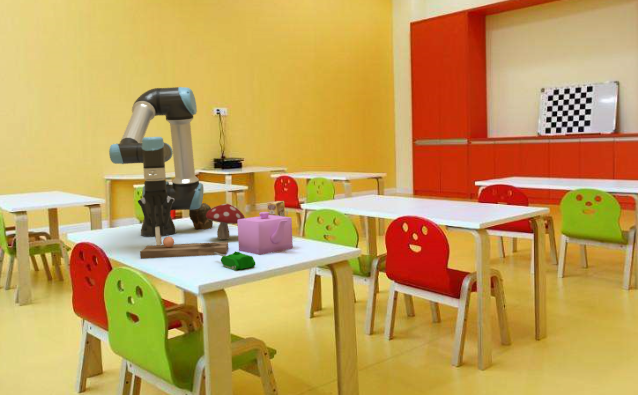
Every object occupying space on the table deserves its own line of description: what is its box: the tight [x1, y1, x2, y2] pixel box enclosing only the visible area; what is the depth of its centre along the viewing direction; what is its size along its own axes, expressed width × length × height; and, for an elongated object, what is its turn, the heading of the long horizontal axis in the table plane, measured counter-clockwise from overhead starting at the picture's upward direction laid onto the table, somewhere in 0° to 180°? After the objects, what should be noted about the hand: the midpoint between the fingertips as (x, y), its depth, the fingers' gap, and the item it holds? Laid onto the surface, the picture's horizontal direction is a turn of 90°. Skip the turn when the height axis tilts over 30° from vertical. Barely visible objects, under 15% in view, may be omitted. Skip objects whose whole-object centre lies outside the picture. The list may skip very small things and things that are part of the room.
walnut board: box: [139, 241, 229, 260], centre depth 211 cm, size 12×30×2 cm, turn 95°
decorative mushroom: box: [206, 203, 245, 241], centre depth 237 cm, size 16×16×15 cm
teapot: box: [237, 211, 294, 256], centre depth 212 cm, size 15×25×14 cm, turn 42°
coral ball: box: [162, 235, 175, 247], centre depth 210 cm, size 4×4×4 cm
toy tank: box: [214, 251, 256, 271], centre depth 188 cm, size 7×19×5 cm, turn 37°
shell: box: [188, 202, 214, 230], centre depth 273 cm, size 11×11×12 cm
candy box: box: [267, 200, 286, 217], centre depth 234 cm, size 9×4×15 cm, turn 163°
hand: (159, 244), depth 210 cm, fingers closed
